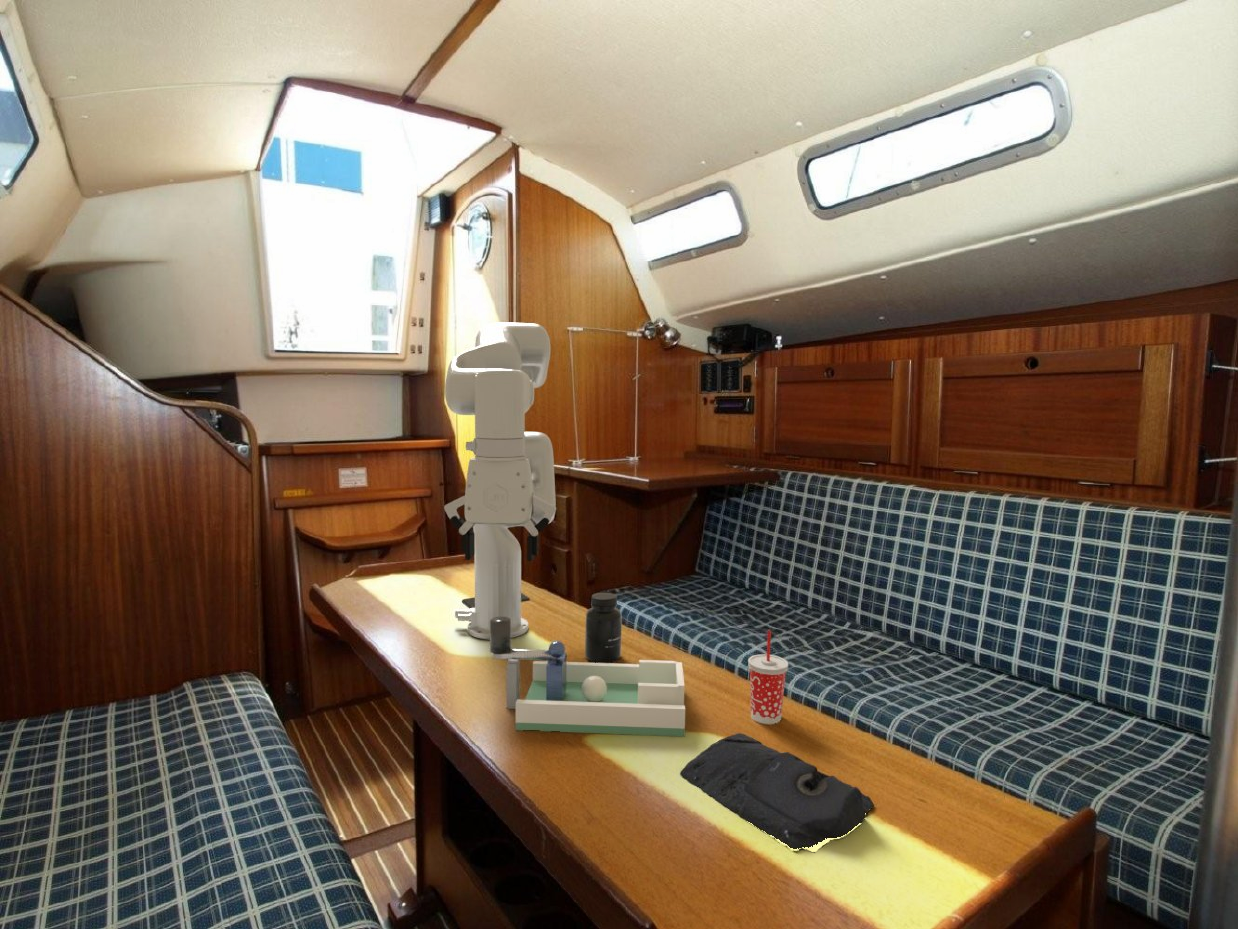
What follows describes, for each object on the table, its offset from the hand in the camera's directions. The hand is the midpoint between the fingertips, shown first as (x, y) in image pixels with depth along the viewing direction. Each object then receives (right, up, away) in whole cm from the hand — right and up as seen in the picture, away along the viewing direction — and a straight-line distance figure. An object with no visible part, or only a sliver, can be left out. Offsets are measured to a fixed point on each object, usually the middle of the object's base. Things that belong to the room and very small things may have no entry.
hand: (500, 558), depth 107 cm
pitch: (+15, -24, +2) cm, 28 cm away
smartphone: (-11, -18, +57) cm, 61 cm away
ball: (+15, -21, +2) cm, 26 cm away
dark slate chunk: (+38, -28, -20) cm, 51 cm away
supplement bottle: (+16, -22, +23) cm, 35 cm away
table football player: (+4, -22, +2) cm, 23 cm away
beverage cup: (+42, -25, 0) cm, 48 cm away
